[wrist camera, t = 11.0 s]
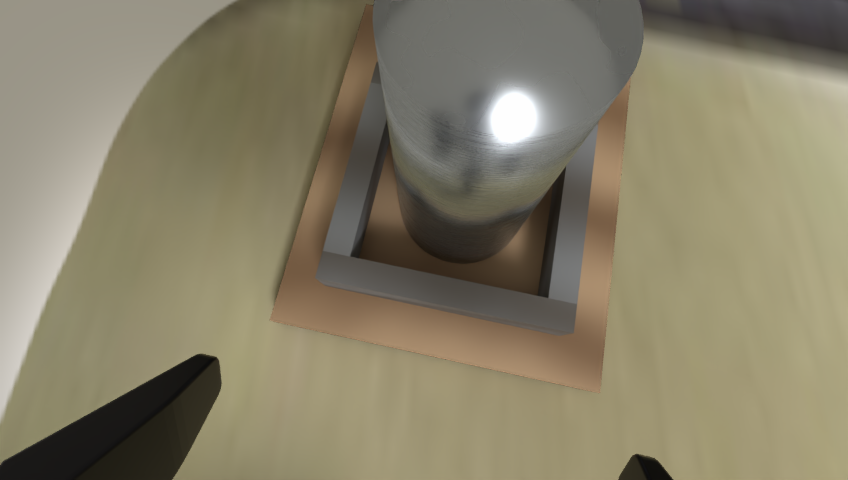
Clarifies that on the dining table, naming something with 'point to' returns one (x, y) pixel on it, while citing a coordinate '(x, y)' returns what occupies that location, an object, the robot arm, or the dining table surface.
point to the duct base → (444, 281)
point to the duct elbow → (493, 106)
